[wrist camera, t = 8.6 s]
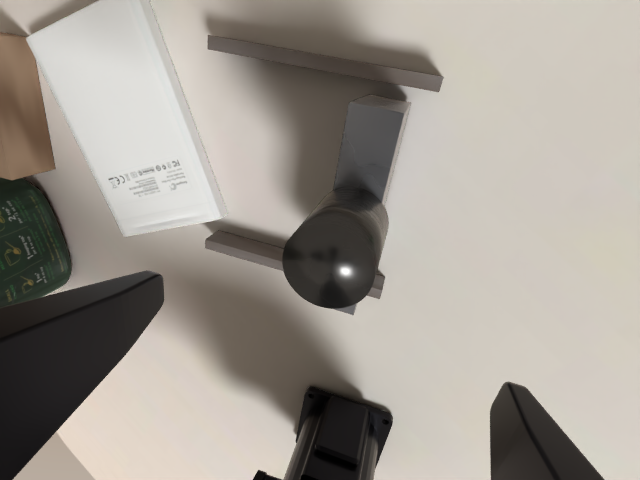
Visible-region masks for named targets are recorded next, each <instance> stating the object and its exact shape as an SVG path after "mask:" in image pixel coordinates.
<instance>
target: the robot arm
mask: <svg viewBox="0 0 640 480" xmlns="http://www.w3.org/2000/svg"><path fill="white" fill-rule="evenodd" d="M163 302H164V286H163V277H162V275H160V274H158V273H155V272H152V271H143V272H139V273H135V274H131V275H127V276H123V277H119V278H115V279H111V280H107V281H103V282H99V283H96V284H92V285H88V286H84V287H80V288H76V289H72V290H68V291H64V292H60V293H56V294H52V295H48V296H44V297H41V298H37V299H33V300H29V301H25V302H21V303H17V304H13V305H9V306H5V307H1V308H0V480H12V479H14V477H15V476H16V475H17V474H18V473H19V472H20V471H21V470H22V468H23V467H24V466H25V465H26V464H27V463H28V462H29V461H30V460H31V459H32V458H33V456H34V455H35V454H36V453H37V452H38V451H39V450H40V449H41V448H42V446H43V445H44V444H45V443H46V442H47V441H48V440H49V439H50V438H51V437H52V435H53V434H54V433H55V432H56V431H57V430H58V429H59V428H60V427H61V426H62V424H63V423H64V422H65V421H66V420H67V419H68V418H69V417H70V416H71V414H72V413H73V412H74V411H75V410H76V409H77V408H78V407H79V406H80V405H81V403H82V402H83V401H84V400H85V399H86V398H87V397H88V396H89V395H90V394H91V392H92V391H93V390H94V389H95V388H96V387H97V386H98V385H99V384H100V382H101V381H102V380H103V379H104V378H105V377H106V376H107V375H108V374H109V373H110V371H111V370H112V369H113V368H114V367H115V366H116V365H117V364H118V363H119V361H120V360H121V359H122V358H123V357H124V356H125V355H126V353H127V352H128V351H129V350H130V349H131V347H132V346H133V345H134V343H135V342H136V341H137V339H138V338H139V337H140V335H141V334H142V333H143V331H144V330H145V329H146V327H147V326H148V325H149V323H150V322H151V321H152V319H153V318H154V316H155V315H156V314H157V312H158V311H159V310H160V308H161V307H162V305H163ZM385 419H386V420H385ZM392 422H393V417H392V415H391V414H389V413H387V412H384V411H381V410H378V409H376V408H373V407H370V406H367V405H364V404H361V403H358V402H355V401H352V400H350V399H347V398H344V397H341V396H338V395H335V394H332V393H329V392H326V391H324V390H321V389H318V388H315V387H308V388H307V390H306V393H305V397H304V402H303V407H302V412H301V417H300V422H299V427H298V432H297V437H296V443H297V444H296V447H295V449H294V452H293V455H292V458H291V460H290V463H289V466H288V469H287V471H286V474H285V477H284V480H373V479H374V472H375V468H376V466H377V463H378V460H379V458H380V455H381V453H382V450H383V447H384V445H385V442H386V440H387V437H388V434H389V432H390V429H391V426H392ZM490 455H491V480H604V479H603V477H602V476H601V475H600V474H599V473H598V472H597V470H596V469H595V468H594V467H593V466H592V465H591V463H590V462H589V461H588V460H587V459H586V457H585V456H584V455H583V454H582V453H581V452H580V450H579V449H578V448H577V447H576V446H575V444H574V443H573V442H572V441H571V440H570V439H569V437H568V436H567V435H566V434H565V433H564V432H563V430H562V429H561V428H560V427H559V426H558V424H557V423H556V422H555V421H554V420H553V419H552V417H551V416H550V415H549V414H548V413H547V411H546V410H545V409H544V408H543V407H542V406H541V404H540V403H539V402H538V401H537V400H536V399H535V397H534V396H533V395H532V394H531V393H530V391H529V390H528V389H527V388H526V387H524V386H521V385H518V384H515V383H512V382H505V383H504V384H503V386H502V387H501V389H500V391H499V393H498V395H497V397H496V398H495V400H494V402H493V404H492V406H491V410H490ZM253 480H282V479H279V478H276V477H273V476H270V475H267V473H266V472H263V471H261V470H258V472H257V473H256V475H255V477H254V479H253Z"/></svg>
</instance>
